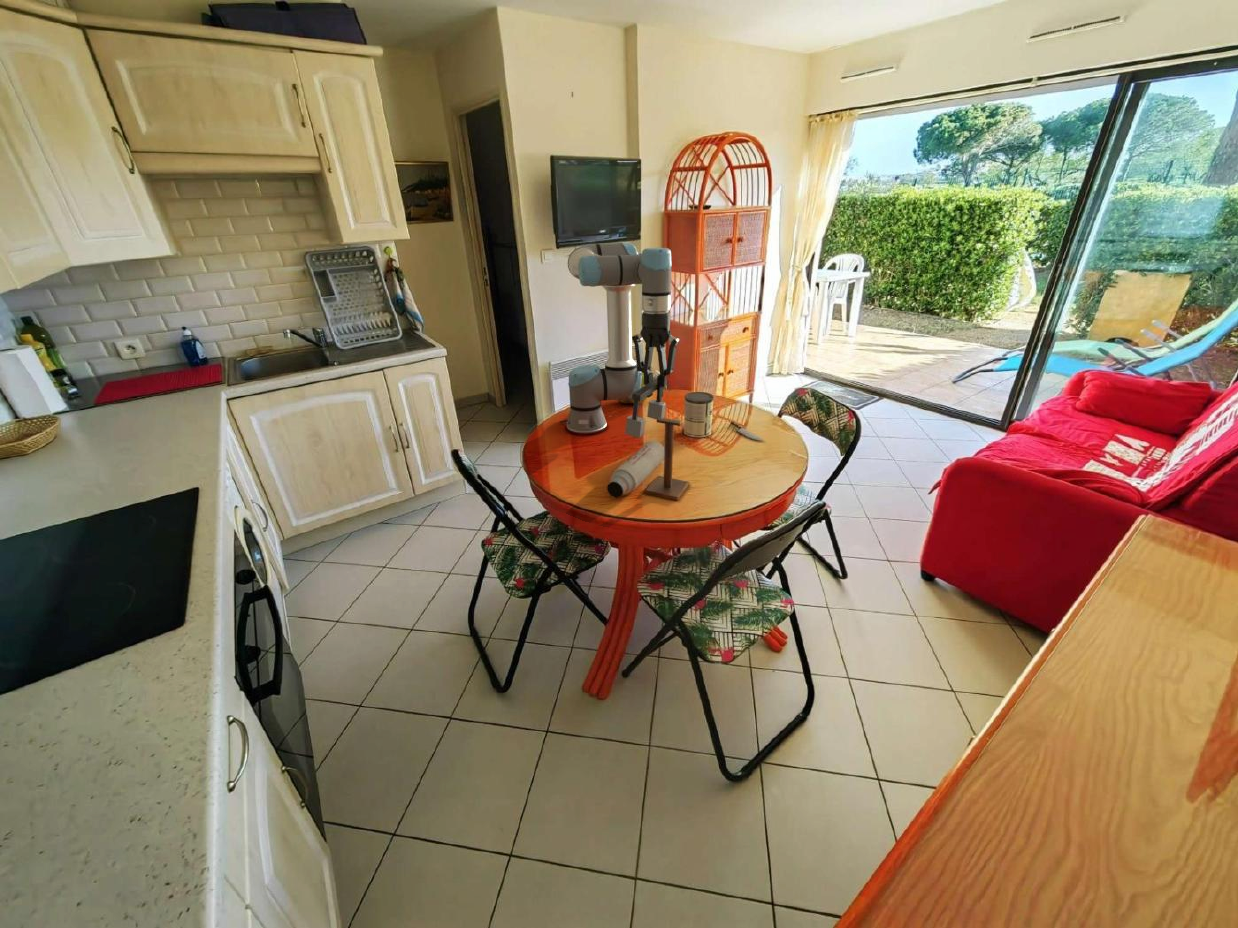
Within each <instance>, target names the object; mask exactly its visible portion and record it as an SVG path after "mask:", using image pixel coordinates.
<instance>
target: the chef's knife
mask: <svg viewBox="0 0 1238 928" xmlns="http://www.w3.org/2000/svg"><path fill="white" fill-rule="evenodd" d="M730 425H731V426H734V427H736V428H737V430H736V432H738V433H740V434H742V435H743V436H745V437H746V438H749V439H752V440H754V441H758V442H764V440H762V439H761V438H760V437H759V436H757V435H755V434H754V433H752V432H750V431H748V430H747V429H745V428H743V427H742V426H740V425H739V424H737V423H736V422H734V421H731V422H730Z"/></svg>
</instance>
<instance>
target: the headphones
mask: <svg viewBox="0 0 1238 928" xmlns="http://www.w3.org/2000/svg"><path fill="white" fill-rule="evenodd" d="M654 392H657V377H656V378H653V381H651V382H650V383H648V384H647V385H645V386H644V387H642V388H641V389H639V390H638V391H636V392H634V393H633V394H632V399H633V400H634V404H633V407H632V414H630V415H629V416H628V417H626V423H625V435H627V436H630V437H634V438H638V439H640V438H642V437H643V436H645V429H646V428H645V427H646V420H647V419H646V418H644V417H641V416H639V410H640V404H639V401H641V400H643V399H644V398H646V397H647V396H649V395H650V394H651V393H653V394H654ZM647 398H648V397H647ZM666 408H667V402H664V401H662V398H660V399H657V398H655V399H651V400H650V401H649V402H648V407H647V415H646V416H647V418H649V419H652V420H656V421H657V419H658V418H665V417H666Z"/></svg>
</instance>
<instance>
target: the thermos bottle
mask: <svg viewBox="0 0 1238 928" xmlns="http://www.w3.org/2000/svg"><path fill="white" fill-rule="evenodd" d="M664 448H665V447H664V446H663V445H662V444H661V443H660V442H658V441H657V440H656V441H655V440H650V441H647V442H646V443H645V444H644V445H642V446H641V447H640V448H639V449H637V451H635V452H634V453H633V454H632V455H631V456H630V457H629V458H628V459H627V460H625V461H624V462H623V463H622V464H621V465H619V467H617V468H616V469H614V471H613V472H612V474H611V477H610V479H609V483H608V484H607V486H606V490H607V493H608V494H609V495H610V497H612V498H614V499H619V498H621V497H622V496H626V495H628V494H631V493H634V491H635V490H637V488H638V487H639V486H640V485H641V484H642V483H643V482H644V481H645V480H646V479H647V478H648V477H649V476H650V475H651V474H652V473H653V472H654V471H655V470H656V469H657V468H658V467H659V466H660V465H661V464H662V462H664Z"/></svg>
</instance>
